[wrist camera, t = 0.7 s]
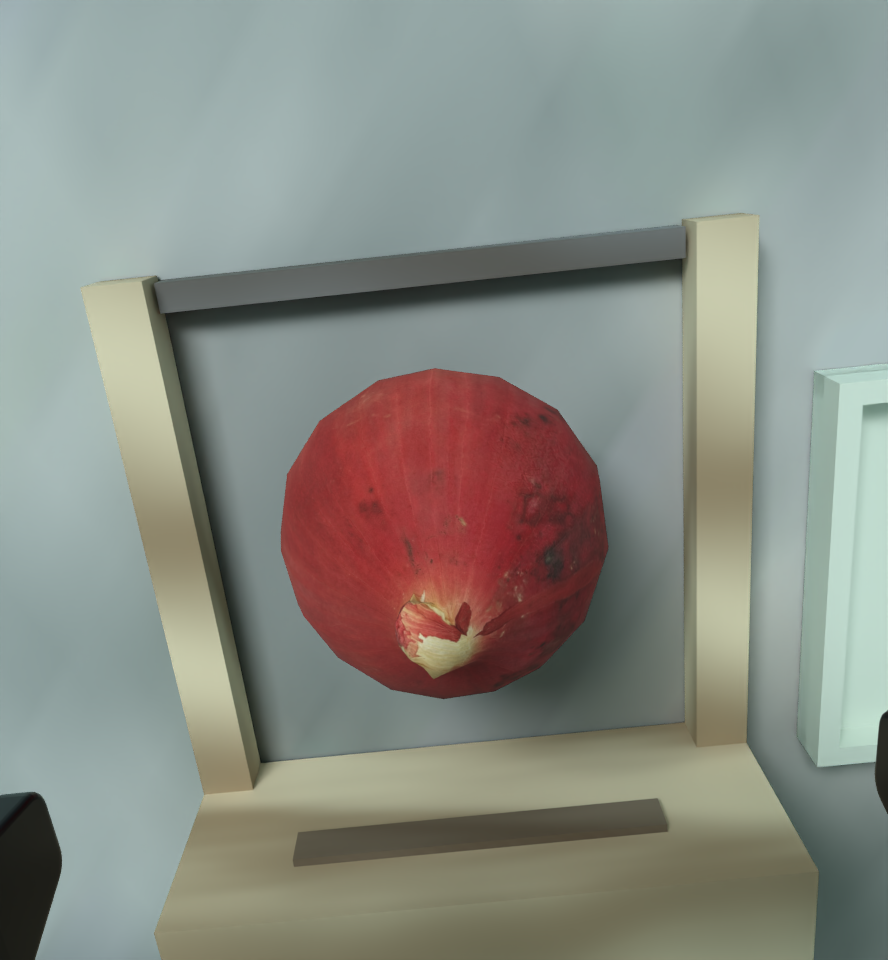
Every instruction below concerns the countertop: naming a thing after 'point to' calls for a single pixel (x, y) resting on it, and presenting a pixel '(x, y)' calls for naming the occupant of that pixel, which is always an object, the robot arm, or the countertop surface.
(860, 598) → the tray
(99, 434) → the countertop surface
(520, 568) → the onion
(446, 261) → the open rectangular frame
